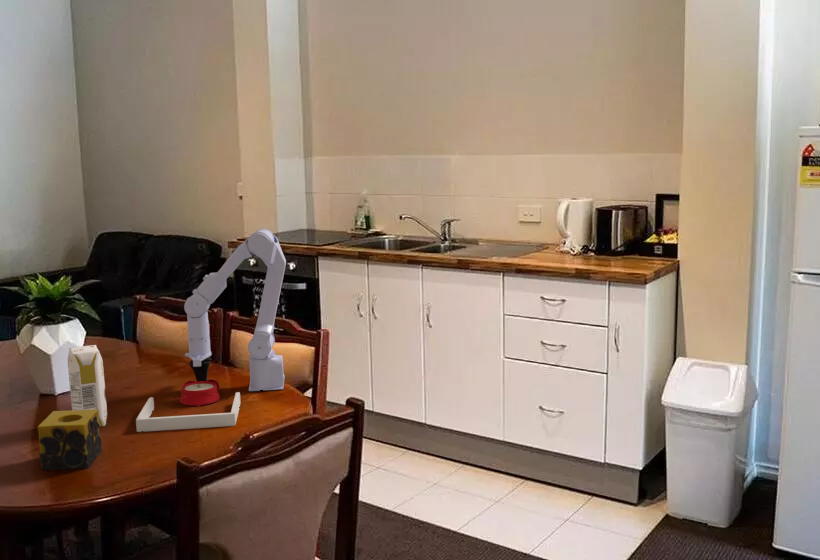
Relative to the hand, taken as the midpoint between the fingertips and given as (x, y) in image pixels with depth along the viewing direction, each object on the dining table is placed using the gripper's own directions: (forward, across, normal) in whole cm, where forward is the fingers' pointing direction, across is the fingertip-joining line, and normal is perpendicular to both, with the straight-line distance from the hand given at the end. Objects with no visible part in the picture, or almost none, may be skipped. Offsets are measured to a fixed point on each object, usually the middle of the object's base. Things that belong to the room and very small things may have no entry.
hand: (202, 384), depth 224 cm
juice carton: (+1, +24, -24) cm, 34 cm away
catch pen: (+1, +23, 0) cm, 23 cm away
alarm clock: (+2, +8, 0) cm, 9 cm away
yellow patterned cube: (+2, +48, -22) cm, 53 cm away
